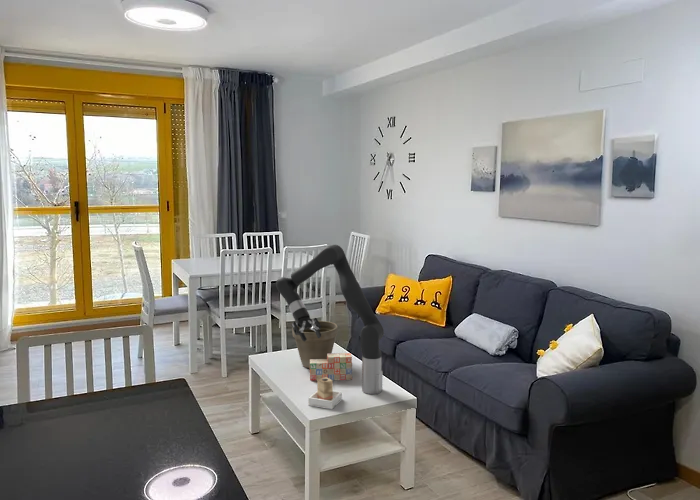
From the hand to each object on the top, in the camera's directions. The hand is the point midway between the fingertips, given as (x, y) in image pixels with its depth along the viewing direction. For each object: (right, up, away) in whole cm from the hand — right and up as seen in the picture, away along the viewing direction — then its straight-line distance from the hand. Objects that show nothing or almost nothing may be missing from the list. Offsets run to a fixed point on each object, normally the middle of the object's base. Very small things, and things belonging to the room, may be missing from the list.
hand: (312, 339), depth 267 cm
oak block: (+7, -26, -13) cm, 30 cm away
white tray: (+7, -27, -13) cm, 31 cm away
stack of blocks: (+8, -23, +17) cm, 30 cm away
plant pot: (-1, -20, +37) cm, 42 cm away
